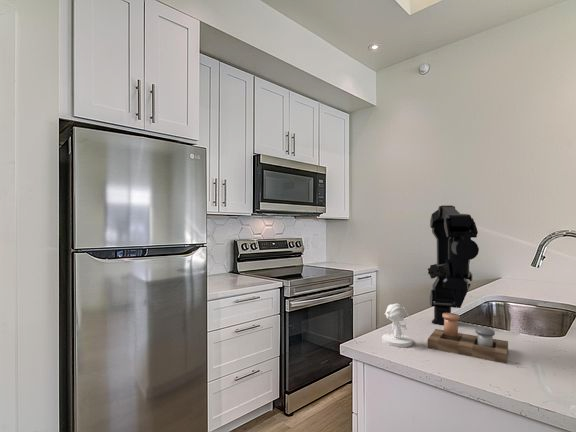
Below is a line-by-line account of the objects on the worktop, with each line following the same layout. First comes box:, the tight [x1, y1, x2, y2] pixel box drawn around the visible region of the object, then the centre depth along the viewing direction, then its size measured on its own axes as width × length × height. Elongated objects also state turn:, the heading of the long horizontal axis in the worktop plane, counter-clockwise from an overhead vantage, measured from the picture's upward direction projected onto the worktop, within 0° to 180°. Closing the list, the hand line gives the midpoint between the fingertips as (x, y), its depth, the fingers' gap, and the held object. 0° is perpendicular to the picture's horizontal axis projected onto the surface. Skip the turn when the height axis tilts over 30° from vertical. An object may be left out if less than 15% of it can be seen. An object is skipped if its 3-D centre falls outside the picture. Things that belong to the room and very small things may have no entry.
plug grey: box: [475, 327, 496, 348], centre depth 99 cm, size 5×5×6 cm
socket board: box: [427, 328, 509, 365], centre depth 102 cm, size 12×20×2 cm, turn 56°
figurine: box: [381, 303, 414, 348], centre depth 108 cm, size 9×9×12 cm
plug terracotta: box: [442, 312, 461, 336], centre depth 104 cm, size 5×5×6 cm
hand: (458, 307), depth 104 cm, fingers closed
